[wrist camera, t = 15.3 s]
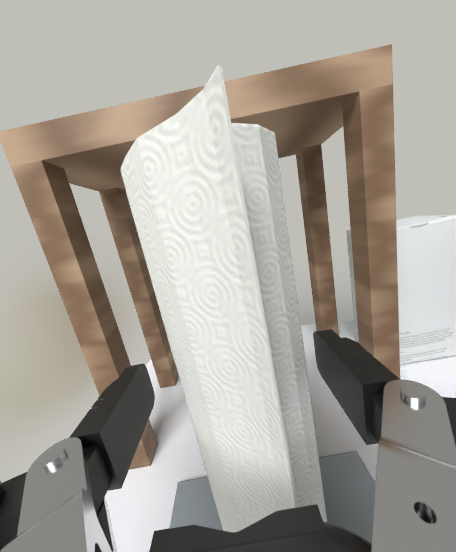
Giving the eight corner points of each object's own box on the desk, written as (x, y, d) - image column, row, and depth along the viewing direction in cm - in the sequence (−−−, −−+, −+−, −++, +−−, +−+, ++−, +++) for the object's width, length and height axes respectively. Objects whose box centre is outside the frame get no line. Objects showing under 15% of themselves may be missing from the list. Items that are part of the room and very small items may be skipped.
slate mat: (356, 455, 17) (356, 451, 17) (470, 651, 9) (470, 646, 9) (179, 486, 17) (178, 482, 17) (142, 699, 9) (139, 695, 9)
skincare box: (414, 330, 30) (413, 215, 27) (463, 359, 24) (470, 212, 20) (352, 340, 31) (343, 229, 27) (383, 371, 24) (376, 230, 21)
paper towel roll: (247, 464, 17) (183, 181, 13) (331, 491, 15) (289, 145, 10) (200, 608, 11) (39, 159, 6) (330, 702, 8) (217, 48, 4)
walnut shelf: (333, 346, 30) (311, 131, 24) (401, 421, 19) (391, 44, 13) (164, 377, 31) (103, 175, 25) (128, 469, 19) (-3, 131, 13)
